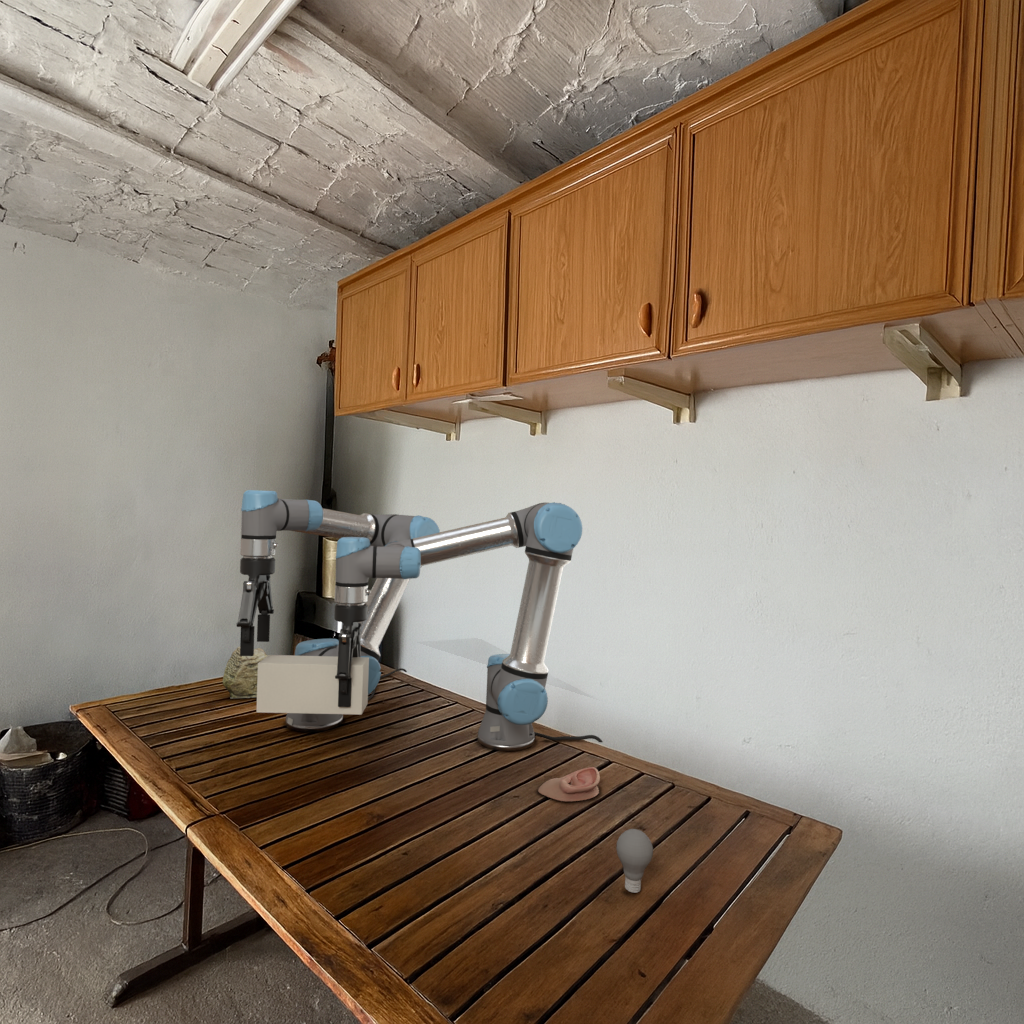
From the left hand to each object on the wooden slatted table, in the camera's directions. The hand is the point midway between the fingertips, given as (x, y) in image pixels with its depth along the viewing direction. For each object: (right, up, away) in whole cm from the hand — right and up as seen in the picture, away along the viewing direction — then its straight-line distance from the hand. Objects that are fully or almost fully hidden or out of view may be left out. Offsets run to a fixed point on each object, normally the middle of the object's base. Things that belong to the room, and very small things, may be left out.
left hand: (255, 648), depth 147 cm
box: (+13, -14, +1) cm, 19 cm away
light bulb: (+80, -32, -41) cm, 95 cm away
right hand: (+21, -13, +1) cm, 25 cm away
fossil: (-21, -26, +51) cm, 61 cm away
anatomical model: (+72, -31, -5) cm, 79 cm away
